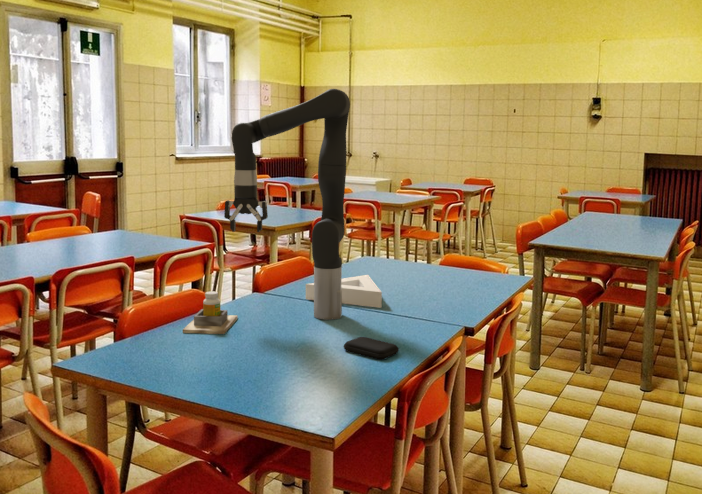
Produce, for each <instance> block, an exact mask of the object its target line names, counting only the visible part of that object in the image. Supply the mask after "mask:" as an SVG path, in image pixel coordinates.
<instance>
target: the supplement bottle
mask: <svg viewBox="0 0 702 494" xmlns="http://www.w3.org/2000/svg"><path fill="white" fill-rule="evenodd" d="M204 296H205V298H204V299H203V301H202V302H203V303H202V305H203V306H202V309H203V316H220V315H221V312H220V310H221V300H220V298H218V297H219V292H218V291H213V290H212V291H206V292H205V293H204Z"/></svg>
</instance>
